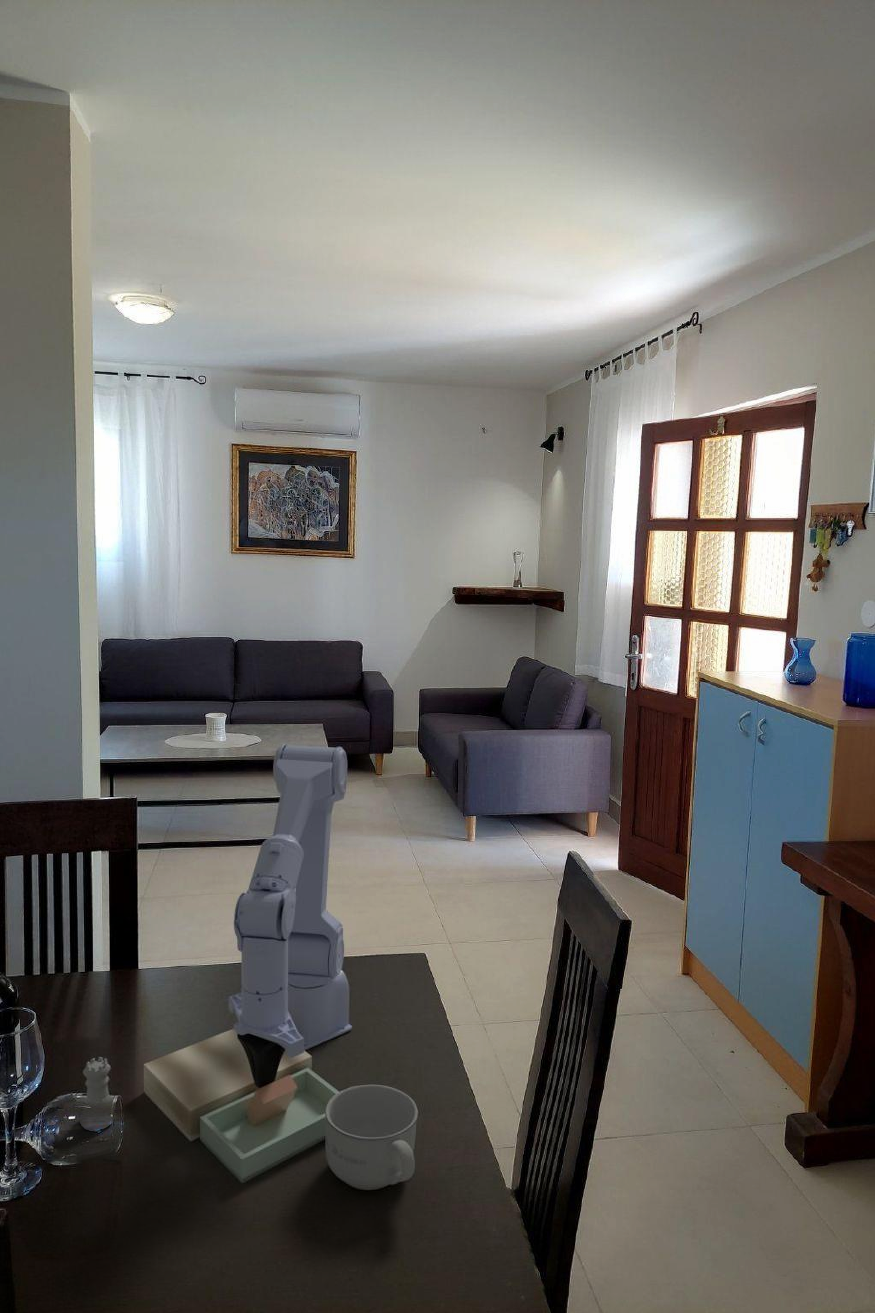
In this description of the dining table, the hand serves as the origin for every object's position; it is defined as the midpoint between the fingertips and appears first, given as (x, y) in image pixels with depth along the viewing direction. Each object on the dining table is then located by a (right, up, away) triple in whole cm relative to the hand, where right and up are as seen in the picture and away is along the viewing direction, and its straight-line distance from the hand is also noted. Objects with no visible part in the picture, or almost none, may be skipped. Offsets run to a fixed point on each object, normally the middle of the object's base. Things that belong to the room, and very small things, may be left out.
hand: (264, 1084), depth 112 cm
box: (+2, -5, -1) cm, 6 cm away
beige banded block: (-6, -4, +7) cm, 10 cm away
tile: (0, -1, 0) cm, 1 cm away
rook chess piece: (-21, -5, 0) cm, 22 cm away
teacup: (+15, -7, -9) cm, 19 cm away
